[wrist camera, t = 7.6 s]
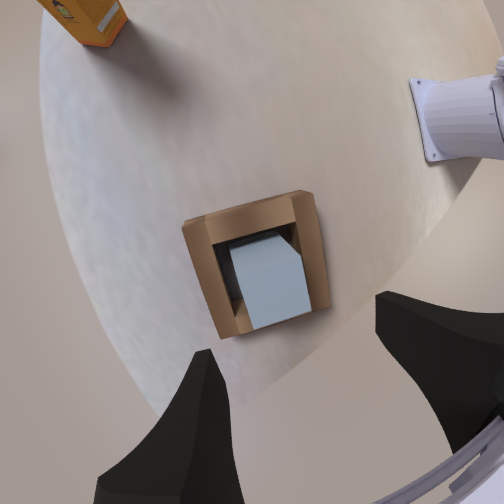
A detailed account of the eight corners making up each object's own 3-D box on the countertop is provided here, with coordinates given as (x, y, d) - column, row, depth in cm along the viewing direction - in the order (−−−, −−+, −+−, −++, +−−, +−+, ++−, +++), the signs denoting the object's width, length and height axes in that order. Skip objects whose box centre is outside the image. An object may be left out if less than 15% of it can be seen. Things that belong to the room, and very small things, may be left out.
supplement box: (132, 15, 13) (95, -59, 3) (109, 49, 13) (52, -15, 4) (100, 12, 12) (54, -51, 2) (79, 44, 13) (15, -8, 3)
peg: (274, 230, 20) (300, 256, 14) (284, 272, 21) (311, 310, 15) (228, 244, 20) (236, 276, 14) (241, 286, 21) (253, 329, 15)
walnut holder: (300, 190, 19) (312, 193, 17) (318, 291, 22) (330, 305, 20) (185, 221, 19) (181, 228, 16) (219, 321, 21) (220, 339, 19)
